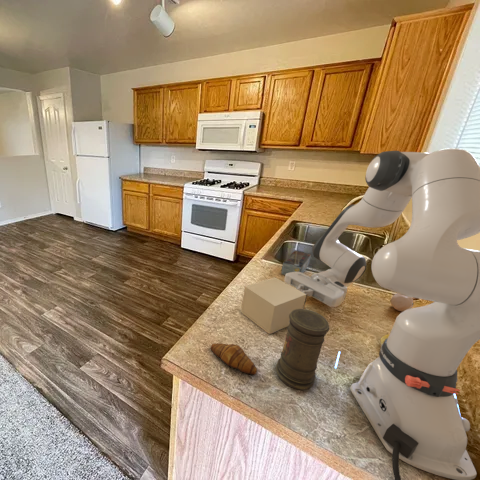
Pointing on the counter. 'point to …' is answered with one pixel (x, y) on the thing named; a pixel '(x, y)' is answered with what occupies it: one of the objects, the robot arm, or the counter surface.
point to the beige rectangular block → (271, 303)
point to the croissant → (234, 357)
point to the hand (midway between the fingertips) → (298, 292)
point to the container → (302, 348)
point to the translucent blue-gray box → (296, 262)
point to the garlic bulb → (401, 302)
